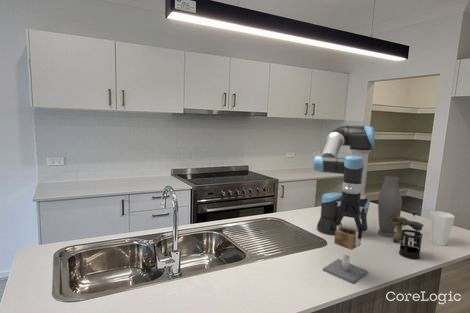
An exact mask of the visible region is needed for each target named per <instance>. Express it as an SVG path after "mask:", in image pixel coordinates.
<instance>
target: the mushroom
mask: <svg viewBox="0 0 470 313" xmlns="http://www.w3.org/2000/svg"><path fill="white" fill-rule="evenodd" d="M403 221H409V220H408V219H407V218H405V217H403V216H400V217H399V216H396V217H393V218H392V219H391V222H392V223H393V224H395V225H396V228H395V232H396V233H395V235H394V237H392V238H393V239H392V240H393V242H394V243H401V238H402V230H403V227H404V226H403V225H404V223H403Z"/></svg>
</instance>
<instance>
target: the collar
mask: <svg viewBox="0 0 470 313" xmlns="http://www.w3.org/2000/svg"><path fill="white" fill-rule="evenodd" d="M356 231H357V230H355V229H352V228H349V227H346V226H342V228H340V229H338V230H336V231H335V235H334V242H333V244H335V245H337V246H340V247H342V248H345V249H347V250H349V251H352V250H354V249H356V248H358V247H359V246H361V242H362V240H361V239H362V238H361V239H360V243H359V245H358V246H355V238H356Z"/></svg>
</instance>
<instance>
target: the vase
mask: <svg viewBox="0 0 470 313" xmlns="http://www.w3.org/2000/svg"><path fill="white" fill-rule="evenodd" d="M399 181H400V178H399V177H398V176H397V177H396V176H390V175H389V176H388V175H387V176H385V179H384V181H383V184H382V186H381V188H380V190H379V193H378V197H377V198H378V199H377V209H378V210H377V212H378V213H377V214H378V227H379V229H378V231H377V234H378V235H379V236H381V237H386V238H393V237H394V235H395V233H396V225H395V224H393V223H392V222H391V219H392V218H393V217H396V216H399V217H401V211H402V207H403V198H402V194H401V192H400V189H399V188H400V186H399V185H400V184H399V183H400V182H399Z"/></svg>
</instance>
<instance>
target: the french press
mask: <svg viewBox="0 0 470 313" xmlns="http://www.w3.org/2000/svg"><path fill="white" fill-rule="evenodd" d="M409 213H410V214H412V216H413V217H412V220H408V221H403V223H404V225H403V227H405V226H409V227H411V229H402V238H401V241H400V246H399V251H398V254H399V255H400V256H402V257H403V258H406V259H409V260H419V259H421V248H422V247H421V246H422V238H423V233H421V231H422V230H423V228H424V224H423V223H421V222H418V221H415V216H416V215H419V214H420V212H418V211H414V210H410V211H409ZM407 233H411V234H407ZM413 234H414V235H413ZM412 239H413V240H412Z"/></svg>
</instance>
